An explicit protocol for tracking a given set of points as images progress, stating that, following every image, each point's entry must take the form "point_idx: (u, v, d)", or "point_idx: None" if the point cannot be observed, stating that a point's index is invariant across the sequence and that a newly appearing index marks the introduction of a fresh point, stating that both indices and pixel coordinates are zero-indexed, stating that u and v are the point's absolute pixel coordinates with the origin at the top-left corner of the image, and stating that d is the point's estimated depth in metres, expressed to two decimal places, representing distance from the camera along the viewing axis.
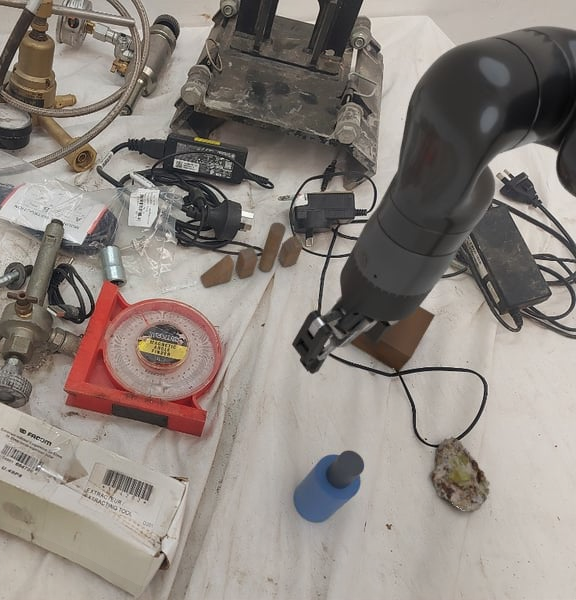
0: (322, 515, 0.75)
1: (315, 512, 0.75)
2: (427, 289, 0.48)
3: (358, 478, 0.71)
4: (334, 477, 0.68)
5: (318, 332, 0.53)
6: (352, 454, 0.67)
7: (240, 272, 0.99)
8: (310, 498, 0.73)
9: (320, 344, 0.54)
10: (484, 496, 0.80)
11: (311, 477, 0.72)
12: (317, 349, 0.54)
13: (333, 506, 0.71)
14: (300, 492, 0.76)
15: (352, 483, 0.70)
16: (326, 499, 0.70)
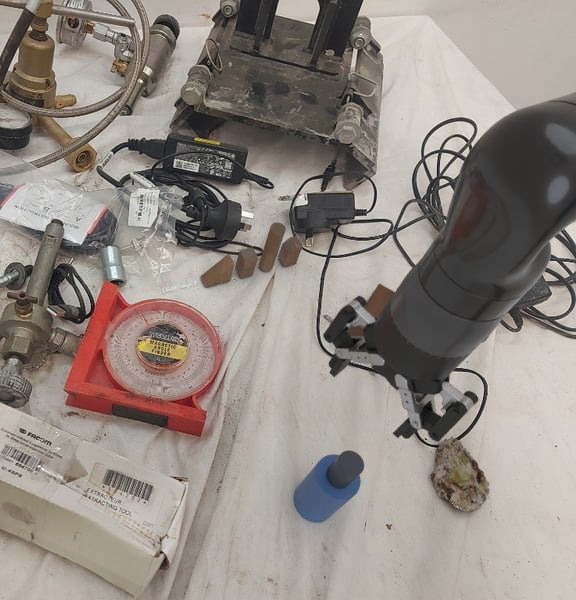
0: (322, 515, 0.75)
1: (315, 512, 0.75)
2: (409, 337, 0.45)
3: (358, 478, 0.71)
4: (334, 477, 0.68)
5: (343, 307, 0.54)
6: (352, 454, 0.67)
7: (240, 272, 0.99)
8: (310, 498, 0.73)
9: (337, 321, 0.55)
10: (484, 496, 0.80)
11: (311, 477, 0.72)
12: (335, 326, 0.56)
13: (333, 506, 0.71)
14: (300, 492, 0.76)
15: (352, 483, 0.70)
16: (326, 499, 0.70)
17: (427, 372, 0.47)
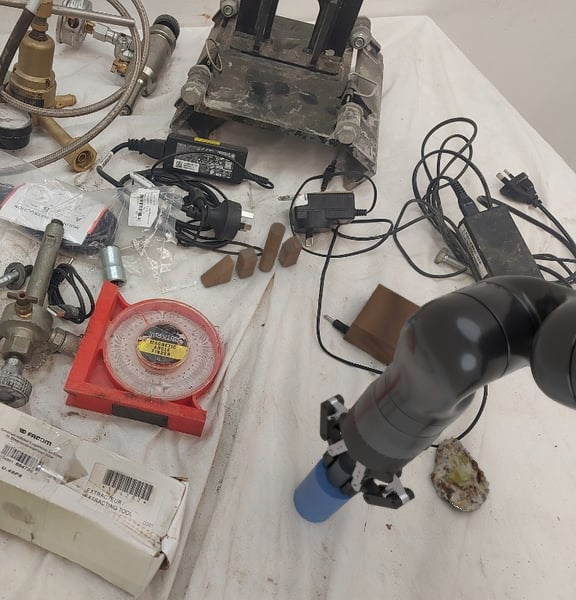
0: (322, 515, 0.75)
1: (315, 512, 0.75)
2: (363, 435, 0.55)
3: None
4: (334, 477, 0.68)
5: None
6: None
7: (240, 272, 0.99)
8: (310, 498, 0.73)
9: (322, 416, 0.66)
10: (484, 496, 0.80)
11: (311, 477, 0.72)
12: (322, 422, 0.67)
13: (333, 506, 0.71)
14: (300, 492, 0.76)
15: None
16: (326, 498, 0.70)
17: (377, 465, 0.56)
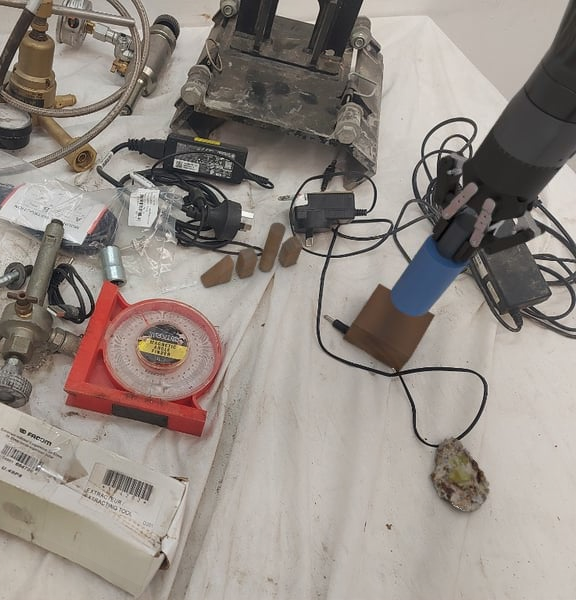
0: (425, 301, 0.75)
1: (418, 297, 0.75)
2: (507, 146, 0.55)
3: None
4: (448, 243, 0.68)
5: None
6: (468, 216, 0.67)
7: (240, 272, 0.99)
8: (415, 280, 0.73)
9: (440, 175, 0.66)
10: (484, 496, 0.80)
11: (419, 255, 0.72)
12: (440, 182, 0.66)
13: (441, 282, 0.71)
14: (401, 282, 0.76)
15: None
16: (437, 271, 0.70)
17: (516, 184, 0.56)
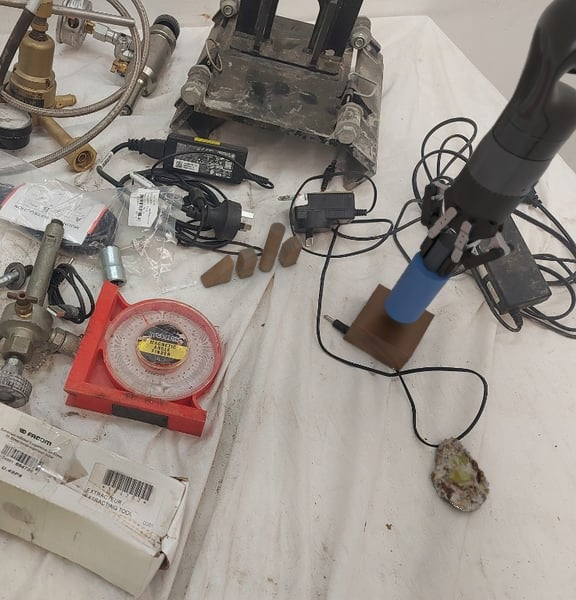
0: (414, 310, 0.85)
1: (408, 306, 0.85)
2: (478, 178, 0.65)
3: None
4: (433, 259, 0.78)
5: None
6: (450, 235, 0.77)
7: (240, 272, 0.99)
8: (405, 291, 0.83)
9: (425, 200, 0.76)
10: (484, 496, 0.80)
11: (408, 269, 0.82)
12: (425, 206, 0.76)
13: (428, 293, 0.81)
14: (393, 293, 0.86)
15: None
16: (423, 283, 0.80)
17: (487, 210, 0.66)
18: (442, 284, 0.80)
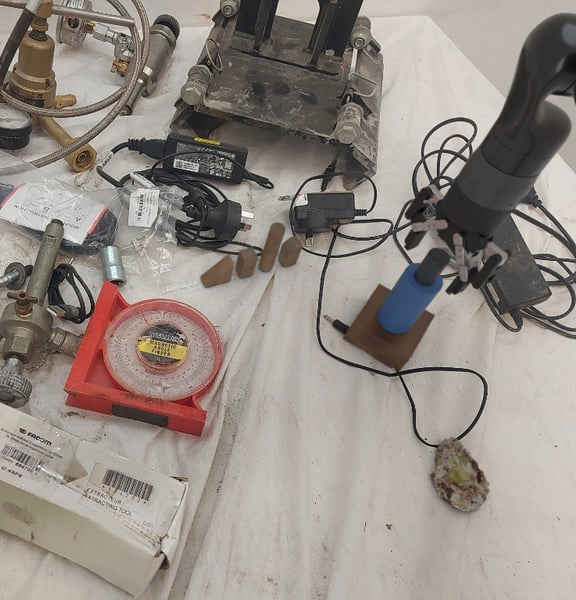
0: (406, 321, 0.87)
1: (400, 318, 0.87)
2: (468, 193, 0.67)
3: (441, 279, 0.83)
4: (423, 273, 0.81)
5: None
6: (439, 250, 0.79)
7: (240, 272, 0.99)
8: (397, 303, 0.86)
9: (417, 199, 0.77)
10: (484, 496, 0.80)
11: (399, 282, 0.84)
12: (414, 204, 0.78)
13: (419, 305, 0.84)
14: (385, 304, 0.89)
15: (436, 283, 0.83)
16: (414, 295, 0.83)
17: (477, 223, 0.68)
18: (432, 297, 0.83)
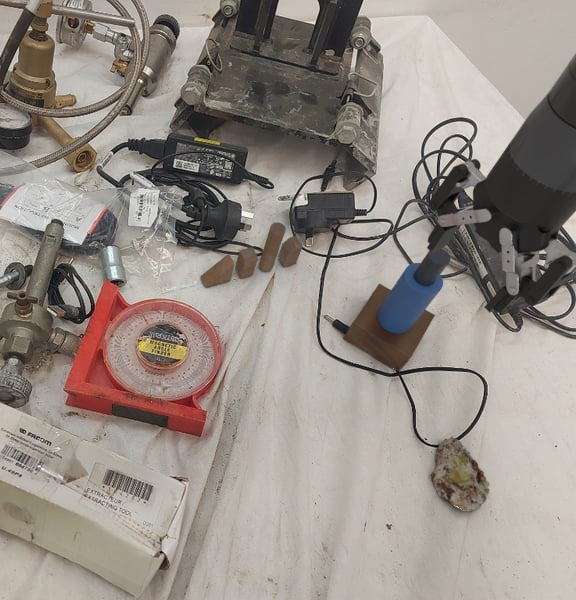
0: (406, 321, 0.87)
1: (400, 318, 0.87)
2: (526, 167, 0.46)
3: (441, 279, 0.83)
4: (423, 273, 0.81)
5: None
6: (439, 250, 0.79)
7: (240, 272, 0.99)
8: (397, 303, 0.86)
9: (447, 182, 0.57)
10: (484, 496, 0.80)
11: (399, 282, 0.84)
12: (443, 189, 0.57)
13: (419, 305, 0.84)
14: (385, 304, 0.89)
15: (436, 283, 0.83)
16: (414, 295, 0.83)
17: (538, 212, 0.48)
18: (432, 297, 0.83)
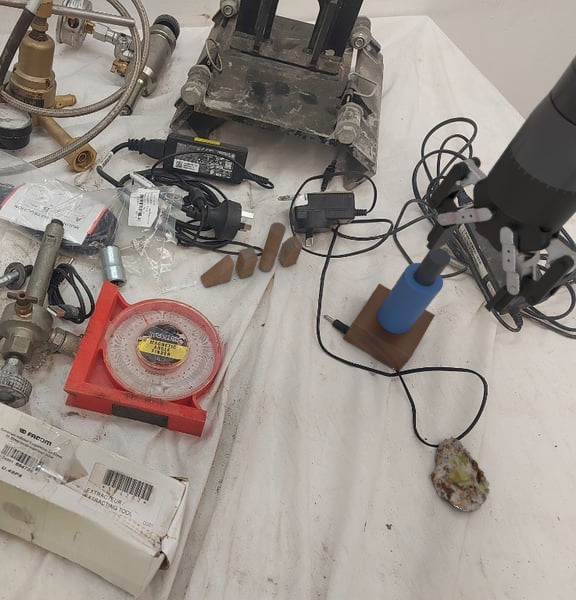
0: (406, 321, 0.87)
1: (400, 318, 0.87)
2: (528, 166, 0.45)
3: (441, 279, 0.83)
4: (423, 273, 0.81)
5: None
6: (439, 250, 0.79)
7: (240, 272, 0.99)
8: (397, 303, 0.86)
9: (447, 180, 0.56)
10: (484, 496, 0.80)
11: (399, 282, 0.84)
12: (443, 187, 0.57)
13: (419, 305, 0.84)
14: (385, 304, 0.89)
15: (436, 283, 0.83)
16: (414, 295, 0.83)
17: (539, 212, 0.47)
18: (432, 297, 0.83)
